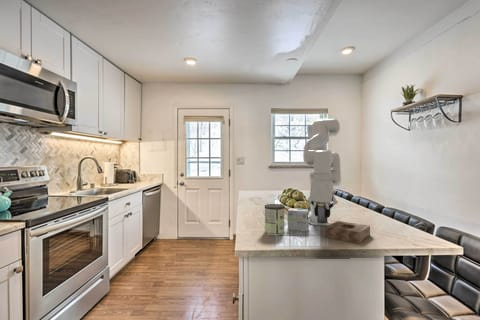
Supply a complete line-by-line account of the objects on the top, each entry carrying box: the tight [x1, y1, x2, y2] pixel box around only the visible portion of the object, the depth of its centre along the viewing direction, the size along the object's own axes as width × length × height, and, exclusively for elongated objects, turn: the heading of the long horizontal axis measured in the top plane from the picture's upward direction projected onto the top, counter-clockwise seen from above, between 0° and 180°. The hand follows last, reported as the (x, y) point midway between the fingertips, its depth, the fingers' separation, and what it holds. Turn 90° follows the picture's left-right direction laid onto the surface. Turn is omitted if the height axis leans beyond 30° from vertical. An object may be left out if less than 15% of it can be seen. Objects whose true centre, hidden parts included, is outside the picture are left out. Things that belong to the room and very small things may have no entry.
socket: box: [324, 220, 371, 244], centre depth 130 cm, size 16×16×5 cm
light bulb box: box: [287, 207, 310, 232], centre depth 144 cm, size 11×7×11 cm, turn 71°
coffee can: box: [264, 203, 286, 236], centre depth 137 cm, size 10×10×14 cm
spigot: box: [317, 202, 327, 223], centre depth 123 cm, size 4×4×9 cm
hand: (322, 216), depth 123 cm, fingers closed on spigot, 4 cm apart
